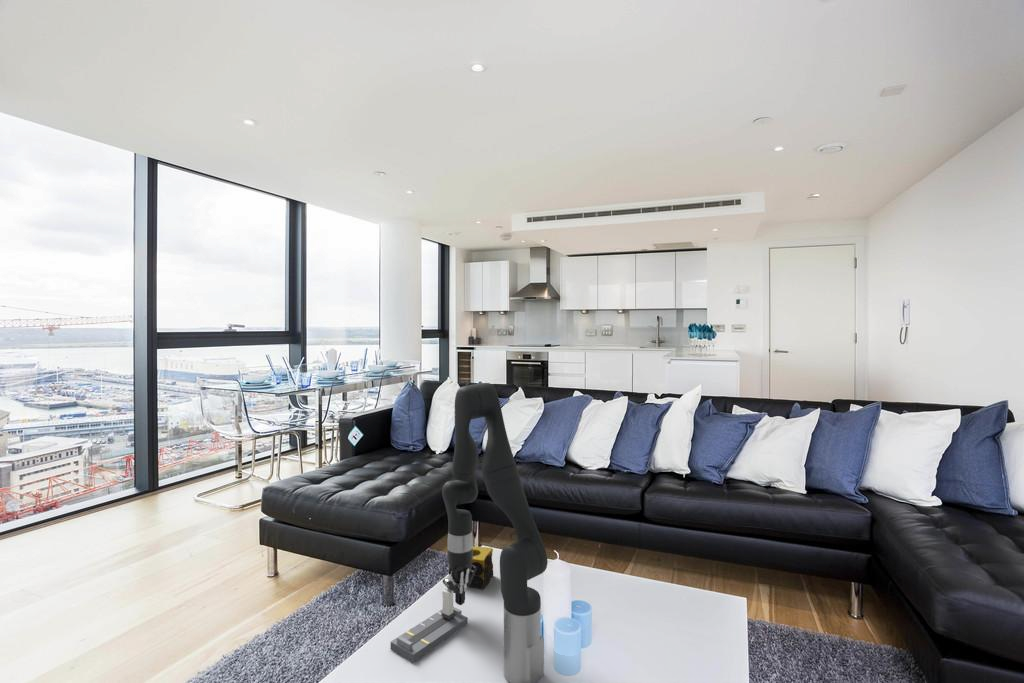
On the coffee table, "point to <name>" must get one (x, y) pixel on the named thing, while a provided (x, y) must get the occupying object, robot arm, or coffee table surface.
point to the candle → (482, 567)
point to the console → (428, 635)
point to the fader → (448, 604)
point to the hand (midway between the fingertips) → (460, 603)
